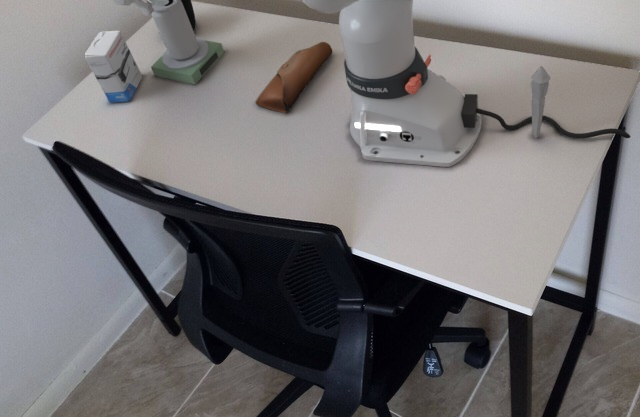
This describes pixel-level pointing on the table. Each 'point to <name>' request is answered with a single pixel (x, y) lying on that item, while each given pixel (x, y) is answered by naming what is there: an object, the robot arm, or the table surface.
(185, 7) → the mug
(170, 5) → the beverage can
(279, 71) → the sunglasses case
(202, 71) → the scale
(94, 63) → the ink box
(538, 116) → the pen
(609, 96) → the table surface
